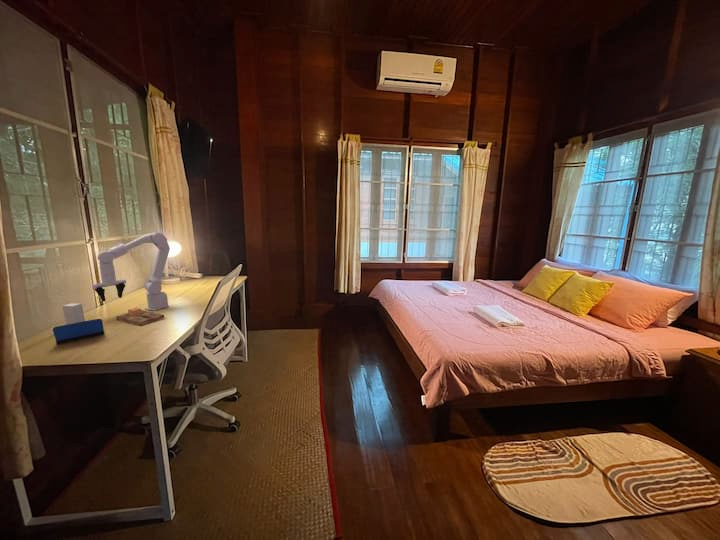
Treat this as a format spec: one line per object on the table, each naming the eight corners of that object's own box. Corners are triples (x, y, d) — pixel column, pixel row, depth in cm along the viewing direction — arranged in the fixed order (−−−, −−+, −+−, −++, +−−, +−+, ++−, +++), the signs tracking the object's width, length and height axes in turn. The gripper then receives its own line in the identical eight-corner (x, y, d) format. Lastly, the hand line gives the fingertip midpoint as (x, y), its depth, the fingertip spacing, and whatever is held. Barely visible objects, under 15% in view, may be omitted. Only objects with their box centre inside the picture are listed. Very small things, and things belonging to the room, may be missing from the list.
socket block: (141, 313, 168) (141, 309, 168) (164, 318, 160) (164, 314, 159) (116, 320, 157) (116, 316, 157) (140, 325, 149) (139, 322, 148)
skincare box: (86, 327, 147) (82, 303, 145) (77, 330, 143) (73, 306, 141) (75, 326, 148) (70, 303, 146) (66, 330, 144) (61, 305, 142)
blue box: (103, 329, 145) (100, 311, 143) (105, 338, 135) (102, 318, 133) (57, 338, 134) (53, 319, 133) (56, 348, 125) (51, 327, 123)
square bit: (137, 316, 163) (136, 307, 162) (142, 317, 161) (140, 308, 160) (129, 318, 159) (127, 309, 158) (133, 319, 158) (132, 310, 157)
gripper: (119, 271, 167) (122, 295, 170) (87, 276, 154) (91, 301, 157) (126, 272, 164) (130, 296, 167) (94, 277, 151) (98, 303, 154)
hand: (112, 299), depth 162 cm, fingers open, 7 cm apart
